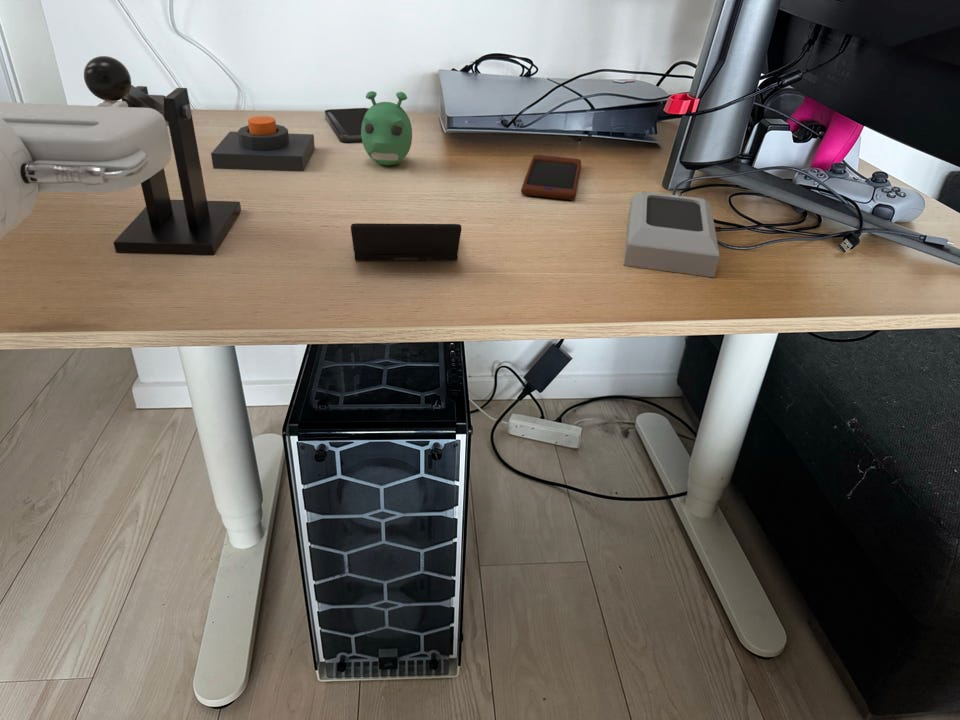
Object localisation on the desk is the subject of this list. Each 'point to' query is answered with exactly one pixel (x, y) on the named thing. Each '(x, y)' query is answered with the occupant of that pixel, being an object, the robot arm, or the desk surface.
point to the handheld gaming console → (405, 242)
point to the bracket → (178, 221)
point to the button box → (264, 151)
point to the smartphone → (552, 177)
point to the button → (262, 125)
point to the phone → (346, 123)
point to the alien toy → (386, 131)
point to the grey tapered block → (671, 234)
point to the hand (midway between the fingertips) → (54, 109)
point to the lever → (118, 84)
